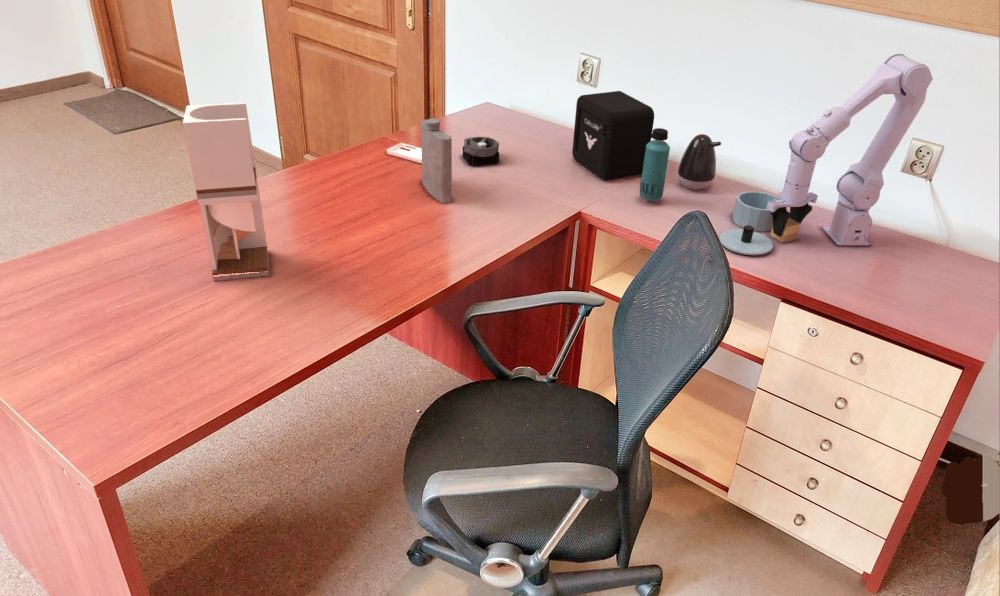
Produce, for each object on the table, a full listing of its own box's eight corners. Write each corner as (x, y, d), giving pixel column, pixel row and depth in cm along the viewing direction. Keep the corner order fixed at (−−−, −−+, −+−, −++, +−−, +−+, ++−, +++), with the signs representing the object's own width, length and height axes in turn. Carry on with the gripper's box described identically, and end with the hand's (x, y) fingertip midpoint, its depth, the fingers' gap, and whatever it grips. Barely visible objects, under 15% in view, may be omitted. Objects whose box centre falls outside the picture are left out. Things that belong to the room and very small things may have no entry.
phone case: (386, 153, 228) (426, 165, 221) (385, 149, 227) (426, 160, 220) (401, 146, 233) (441, 157, 227) (401, 142, 232) (441, 153, 226)
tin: (787, 228, 193) (793, 207, 190) (748, 233, 190) (753, 212, 187) (761, 209, 203) (766, 189, 200) (723, 214, 199) (727, 193, 196)
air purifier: (567, 159, 229) (573, 93, 218) (609, 152, 234) (616, 88, 224) (602, 184, 213) (610, 115, 203) (646, 177, 219) (655, 109, 208)
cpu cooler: (502, 146, 220) (469, 149, 217) (502, 165, 223) (468, 168, 220) (492, 134, 228) (459, 137, 226) (491, 152, 231) (459, 155, 229)
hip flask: (453, 202, 200) (453, 129, 190) (439, 204, 199) (438, 131, 188) (431, 179, 212) (430, 109, 202) (417, 181, 211) (415, 111, 200)
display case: (213, 281, 163) (182, 122, 144) (215, 257, 171) (186, 105, 153) (268, 275, 165) (245, 119, 147) (268, 252, 174) (245, 102, 155)
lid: (782, 253, 182) (787, 236, 179) (737, 260, 178) (741, 242, 176) (752, 230, 192) (756, 213, 189) (708, 236, 188) (712, 219, 186)
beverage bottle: (661, 196, 208) (672, 126, 197) (663, 207, 202) (674, 134, 191) (637, 195, 208) (647, 124, 197) (638, 205, 202) (648, 133, 192)
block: (796, 239, 188) (800, 223, 186) (783, 243, 186) (787, 226, 184) (783, 232, 192) (787, 216, 189) (770, 235, 190) (774, 219, 187)
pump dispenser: (703, 197, 208) (714, 144, 200) (669, 187, 213) (678, 135, 205) (719, 185, 215) (729, 134, 207) (685, 176, 220) (694, 125, 212)
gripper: (807, 171, 187) (794, 220, 194) (762, 180, 181) (751, 230, 188) (829, 181, 182) (815, 232, 189) (784, 191, 176) (771, 243, 183)
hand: (784, 232), depth 188 cm, fingers closed on block, 4 cm apart
